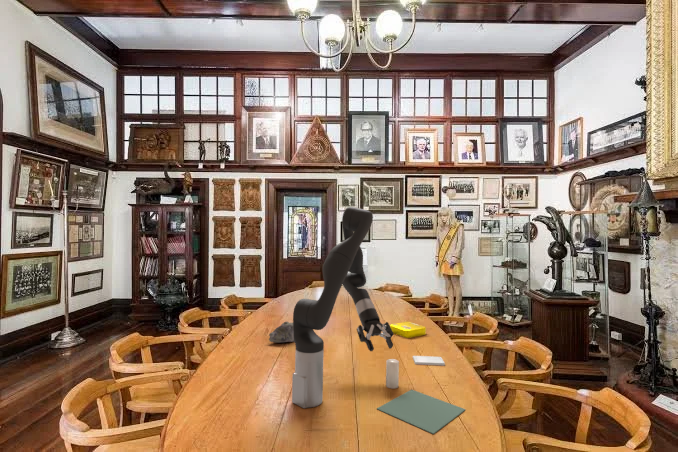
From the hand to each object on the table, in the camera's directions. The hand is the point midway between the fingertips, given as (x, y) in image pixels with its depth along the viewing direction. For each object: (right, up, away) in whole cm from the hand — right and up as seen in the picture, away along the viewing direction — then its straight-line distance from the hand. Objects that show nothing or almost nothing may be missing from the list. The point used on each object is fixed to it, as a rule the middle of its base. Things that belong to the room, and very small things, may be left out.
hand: (381, 349), depth 143 cm
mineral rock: (-44, -11, +43) cm, 63 cm away
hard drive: (+22, -13, +20) cm, 32 cm away
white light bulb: (+3, -11, -6) cm, 13 cm away
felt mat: (+10, -11, -24) cm, 28 cm away
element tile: (+21, -12, +63) cm, 68 cm away
